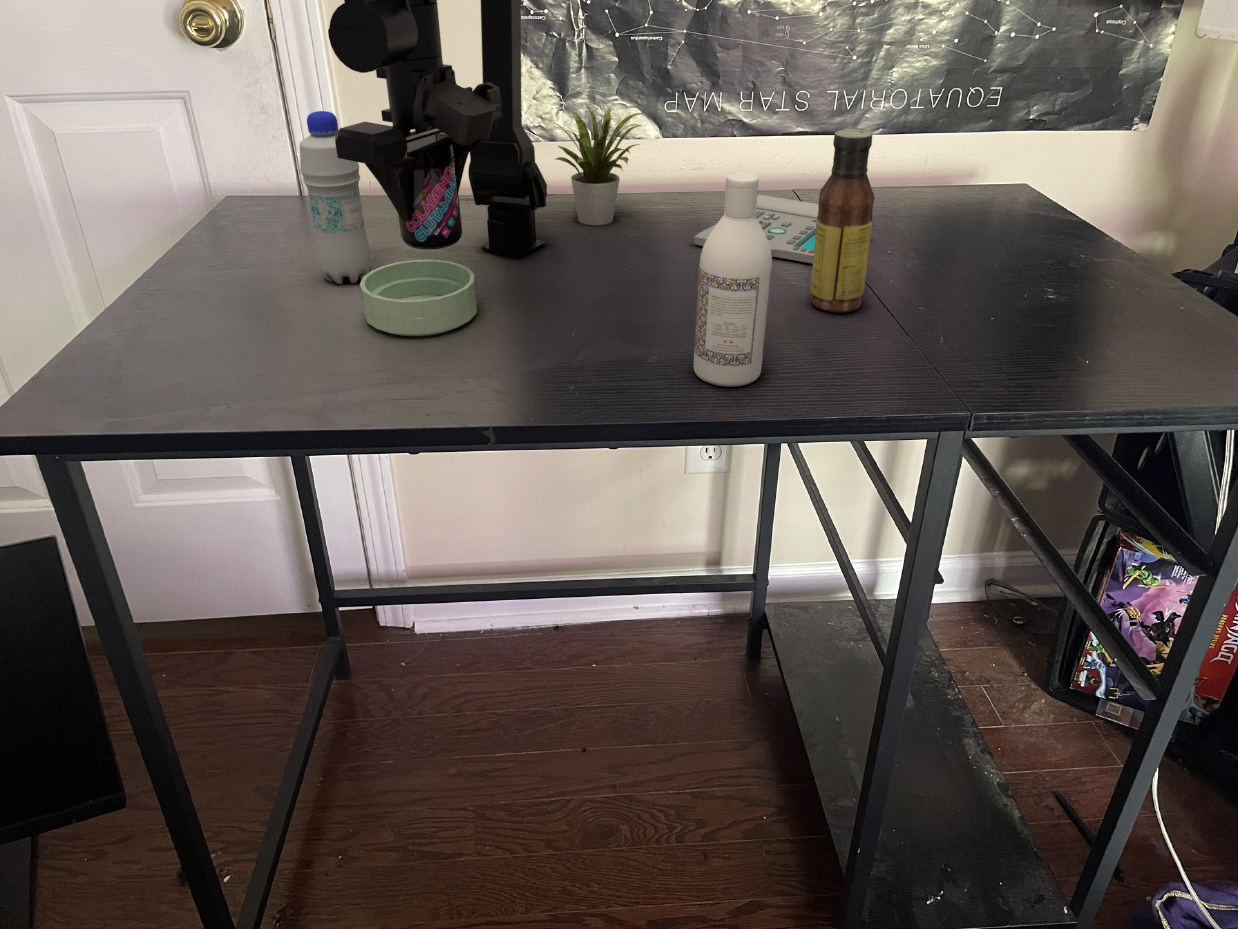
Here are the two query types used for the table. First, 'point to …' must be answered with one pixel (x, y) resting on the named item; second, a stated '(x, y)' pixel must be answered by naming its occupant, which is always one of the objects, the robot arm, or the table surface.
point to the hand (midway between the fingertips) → (429, 211)
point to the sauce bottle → (843, 226)
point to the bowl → (419, 297)
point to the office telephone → (783, 227)
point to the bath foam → (733, 291)
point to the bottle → (334, 202)
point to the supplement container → (433, 195)
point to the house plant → (596, 169)
